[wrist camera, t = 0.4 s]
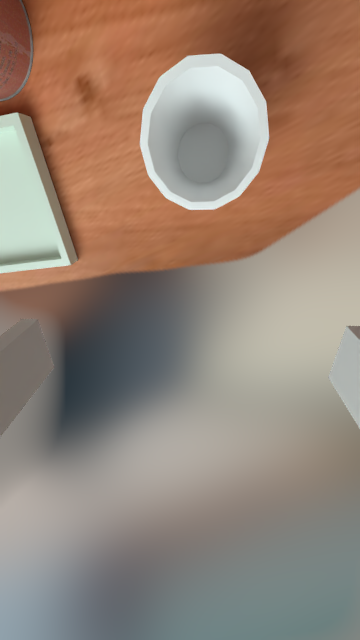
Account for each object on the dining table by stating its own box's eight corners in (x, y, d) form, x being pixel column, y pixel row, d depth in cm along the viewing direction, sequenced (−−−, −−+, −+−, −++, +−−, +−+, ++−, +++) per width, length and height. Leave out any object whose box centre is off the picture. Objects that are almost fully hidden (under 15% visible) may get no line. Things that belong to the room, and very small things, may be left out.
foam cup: (152, 177, 32) (123, 177, 20) (182, 86, 27) (168, 21, 16) (220, 211, 33) (228, 229, 22) (259, 130, 28) (296, 99, 17)
